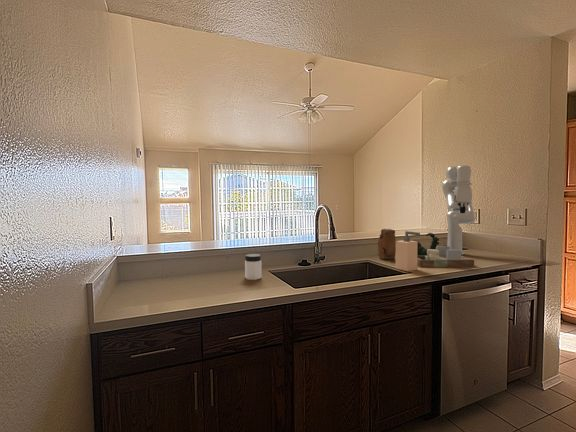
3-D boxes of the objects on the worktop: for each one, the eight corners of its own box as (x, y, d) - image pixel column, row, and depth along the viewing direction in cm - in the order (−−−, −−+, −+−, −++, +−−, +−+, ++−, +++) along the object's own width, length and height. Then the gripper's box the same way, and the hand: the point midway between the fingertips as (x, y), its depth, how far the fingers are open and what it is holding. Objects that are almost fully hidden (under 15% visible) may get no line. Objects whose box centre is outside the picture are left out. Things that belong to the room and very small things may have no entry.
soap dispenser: (395, 268, 188) (395, 231, 187) (404, 266, 193) (405, 230, 191) (413, 272, 177) (414, 233, 176) (423, 270, 182) (424, 232, 181)
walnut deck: (410, 261, 207) (410, 255, 207) (460, 261, 207) (460, 255, 207) (419, 266, 192) (419, 260, 192) (474, 266, 192) (474, 259, 192)
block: (389, 257, 223) (389, 228, 222) (396, 259, 216) (397, 229, 215) (376, 258, 220) (376, 229, 218) (383, 260, 213) (383, 230, 211)
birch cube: (427, 257, 201) (427, 249, 201) (434, 257, 201) (435, 249, 201) (430, 258, 196) (430, 250, 196) (438, 258, 196) (439, 250, 196)
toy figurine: (439, 261, 214) (408, 253, 235) (442, 234, 212) (410, 227, 233) (431, 263, 209) (399, 254, 230) (434, 235, 207) (402, 228, 228)
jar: (254, 275, 174) (253, 253, 174) (264, 277, 169) (264, 254, 168) (241, 278, 167) (241, 255, 167) (252, 280, 162) (252, 257, 161)
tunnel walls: (435, 255, 207) (436, 246, 206) (448, 255, 207) (448, 246, 206) (447, 260, 192) (447, 250, 191) (460, 260, 192) (461, 250, 191)
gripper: (471, 184, 212) (470, 212, 213) (448, 185, 212) (448, 212, 213) (478, 184, 204) (477, 213, 205) (454, 184, 204) (453, 213, 205)
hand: (462, 213), depth 209 cm, fingers closed
